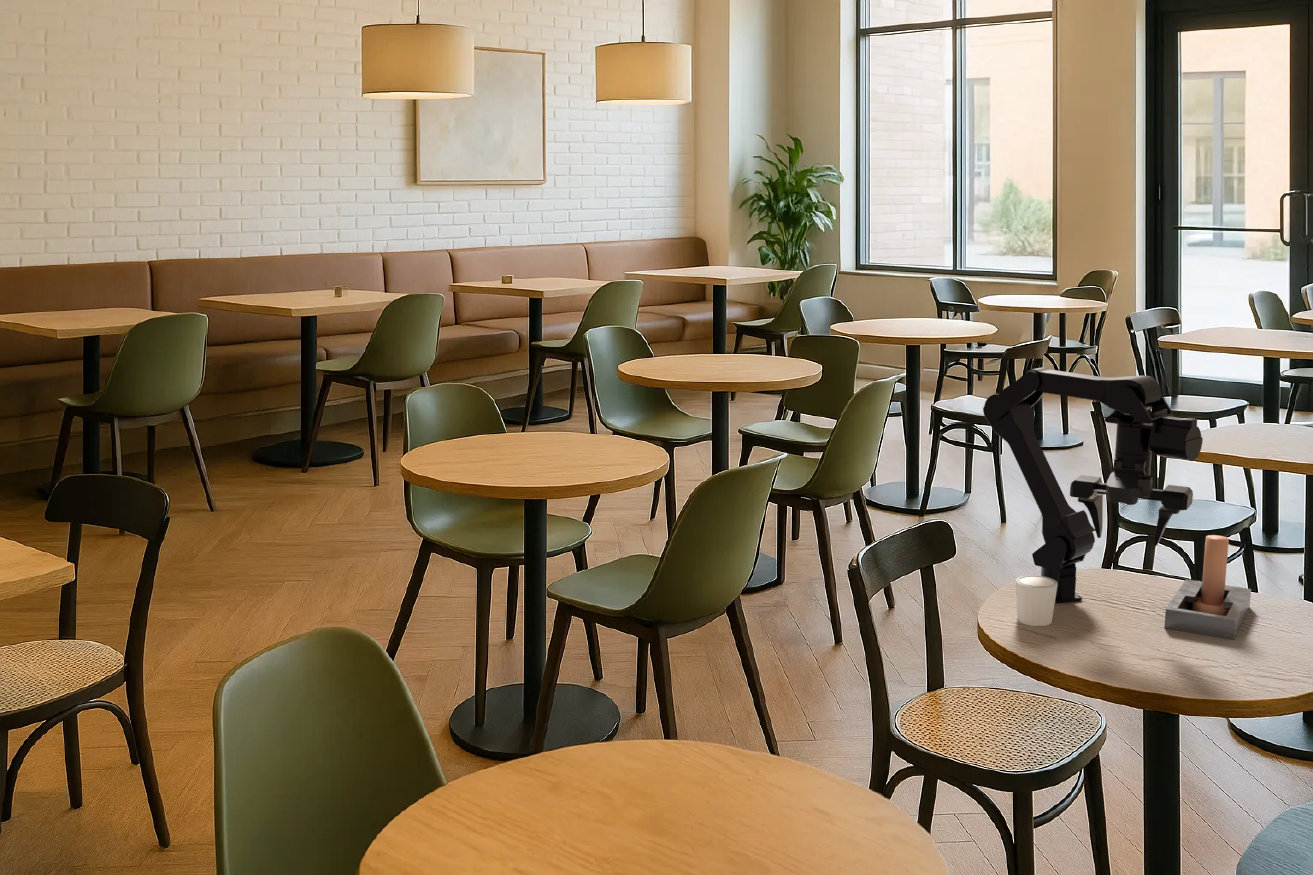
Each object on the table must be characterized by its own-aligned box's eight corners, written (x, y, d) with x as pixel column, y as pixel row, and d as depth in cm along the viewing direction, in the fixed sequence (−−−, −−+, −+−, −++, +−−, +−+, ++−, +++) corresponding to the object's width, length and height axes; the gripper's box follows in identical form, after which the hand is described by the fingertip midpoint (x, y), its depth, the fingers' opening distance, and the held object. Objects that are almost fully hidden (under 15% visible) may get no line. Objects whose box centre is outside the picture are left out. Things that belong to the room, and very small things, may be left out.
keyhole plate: (1233, 639, 199) (1235, 620, 199) (1164, 627, 205) (1165, 608, 204) (1249, 607, 214) (1251, 589, 213) (1184, 596, 220) (1185, 579, 219)
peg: (1187, 610, 213) (1192, 538, 210) (1200, 602, 217) (1205, 531, 214) (1223, 618, 209) (1229, 545, 206) (1235, 609, 213) (1241, 537, 210)
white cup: (1050, 613, 212) (1052, 574, 211) (1059, 627, 206) (1062, 587, 204) (1010, 612, 213) (1011, 574, 211) (1017, 626, 206) (1019, 587, 205)
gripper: (1063, 454, 204) (1058, 545, 207) (1184, 467, 194) (1177, 562, 197) (1080, 442, 213) (1075, 529, 216) (1196, 453, 203) (1189, 544, 206)
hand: (1127, 541), depth 209 cm, fingers open, 9 cm apart
